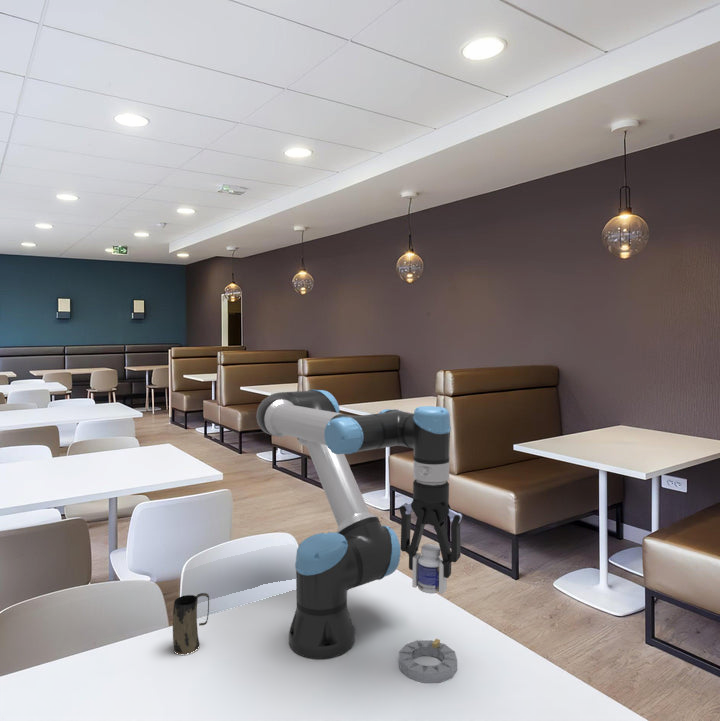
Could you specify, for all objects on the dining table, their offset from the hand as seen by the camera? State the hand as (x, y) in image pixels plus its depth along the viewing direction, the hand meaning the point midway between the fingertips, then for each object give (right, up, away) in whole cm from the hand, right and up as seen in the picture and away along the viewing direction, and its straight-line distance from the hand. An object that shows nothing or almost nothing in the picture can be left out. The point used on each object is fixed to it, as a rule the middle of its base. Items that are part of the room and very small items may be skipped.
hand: (429, 587), depth 117 cm
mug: (-53, -17, +7) cm, 56 cm away
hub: (0, -16, 0) cm, 16 cm away
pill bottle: (0, 0, 0) cm, 1 cm away
